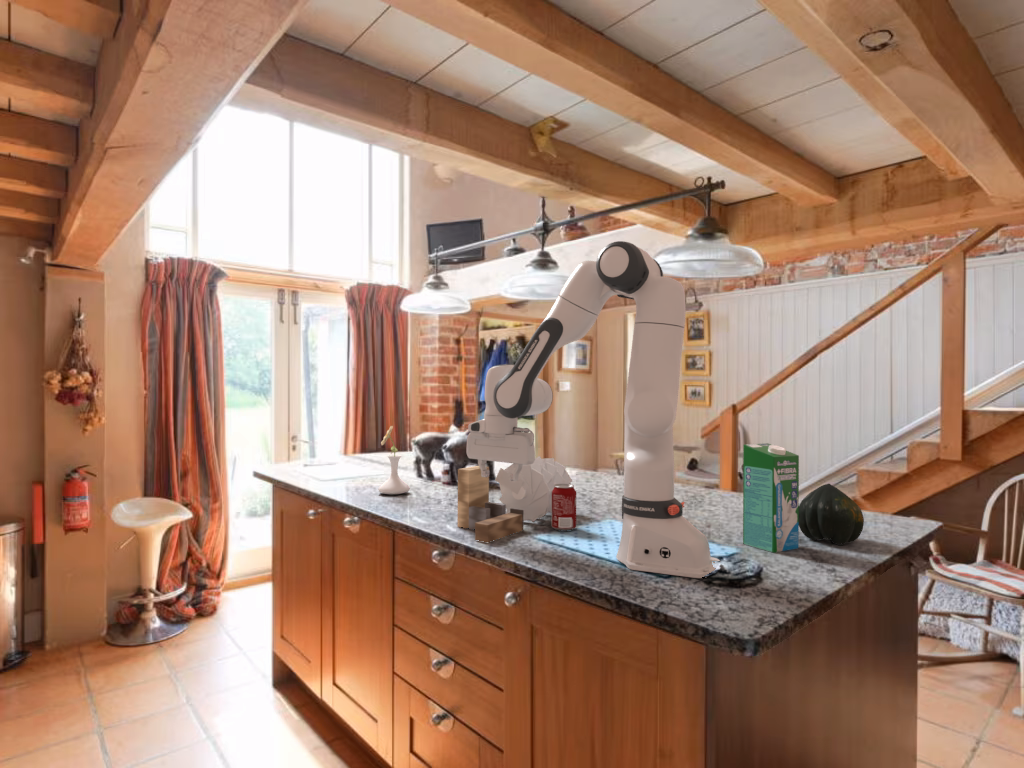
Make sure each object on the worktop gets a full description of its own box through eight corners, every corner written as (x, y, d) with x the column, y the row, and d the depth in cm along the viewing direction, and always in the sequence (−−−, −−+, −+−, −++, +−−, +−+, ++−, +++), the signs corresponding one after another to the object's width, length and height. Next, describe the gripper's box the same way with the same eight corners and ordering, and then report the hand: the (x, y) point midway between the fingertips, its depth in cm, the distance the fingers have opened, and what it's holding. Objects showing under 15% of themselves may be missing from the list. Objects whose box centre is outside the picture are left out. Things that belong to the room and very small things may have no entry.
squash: (829, 529, 139) (855, 479, 144) (777, 519, 153) (802, 473, 158) (859, 564, 144) (883, 514, 148) (806, 551, 157) (829, 505, 162)
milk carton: (773, 553, 138) (774, 447, 138) (742, 544, 146) (743, 443, 146) (798, 548, 142) (799, 445, 143) (767, 539, 150) (767, 442, 151)
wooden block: (511, 528, 161) (511, 508, 161) (523, 530, 159) (523, 509, 159) (475, 540, 148) (475, 518, 148) (487, 543, 146) (487, 520, 146)
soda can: (574, 532, 157) (575, 487, 157) (549, 531, 158) (550, 486, 158) (577, 526, 163) (577, 483, 163) (553, 525, 165) (553, 482, 165)
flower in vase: (384, 490, 219) (385, 423, 219) (414, 491, 217) (414, 424, 217) (371, 497, 206) (372, 426, 206) (402, 498, 204) (403, 426, 205)
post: (505, 525, 164) (506, 468, 164) (486, 532, 157) (486, 472, 157) (477, 520, 170) (478, 465, 170) (457, 526, 162) (457, 469, 162)
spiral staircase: (561, 523, 186) (531, 536, 163) (516, 494, 193) (481, 504, 170) (586, 472, 183) (559, 479, 161) (540, 445, 190) (507, 448, 168)
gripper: (540, 427, 150) (539, 481, 150) (477, 423, 162) (476, 473, 162) (527, 429, 145) (525, 484, 145) (463, 424, 157) (462, 476, 157)
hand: (499, 478), depth 154 cm, fingers open, 8 cm apart
